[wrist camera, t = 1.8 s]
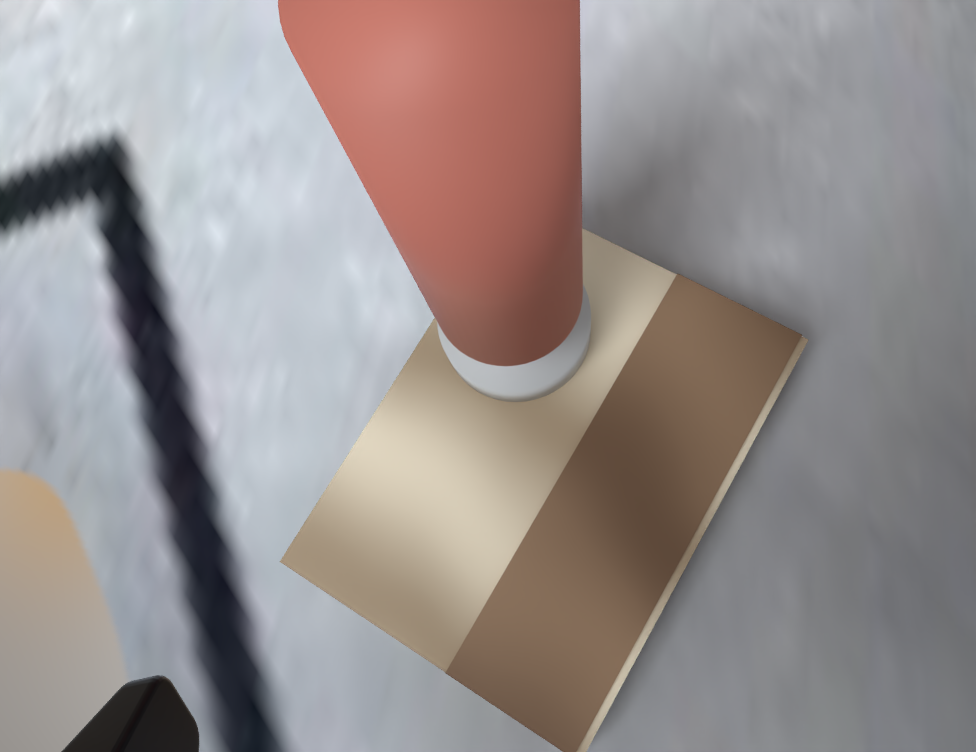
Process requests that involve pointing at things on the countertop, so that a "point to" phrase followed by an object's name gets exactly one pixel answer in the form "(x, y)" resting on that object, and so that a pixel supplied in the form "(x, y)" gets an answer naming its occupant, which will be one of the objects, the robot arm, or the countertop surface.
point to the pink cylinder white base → (467, 166)
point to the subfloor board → (550, 495)
